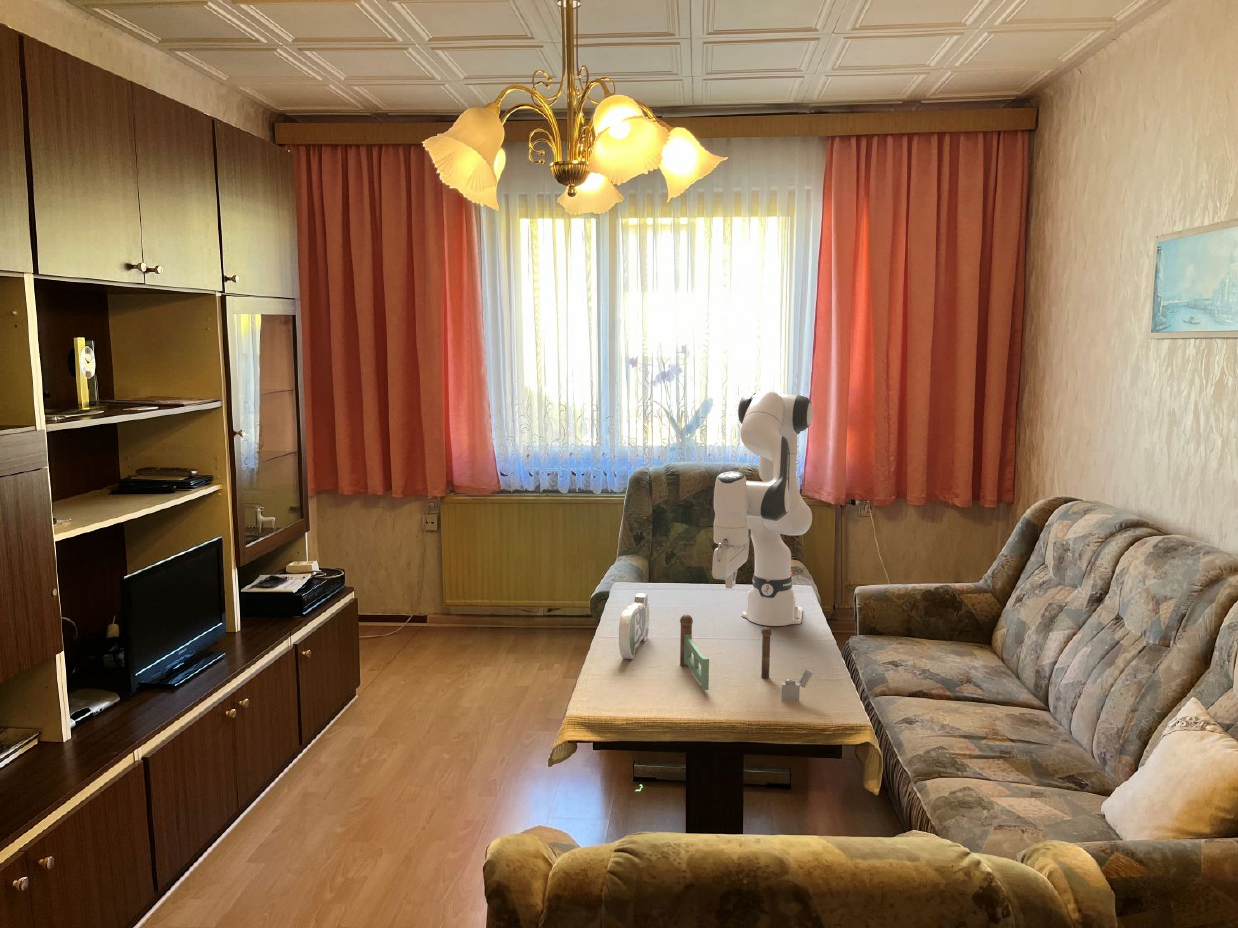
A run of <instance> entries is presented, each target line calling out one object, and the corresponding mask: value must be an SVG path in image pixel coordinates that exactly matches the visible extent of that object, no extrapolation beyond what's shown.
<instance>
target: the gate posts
mask: <svg viewBox="0 0 1238 928" xmlns="http://www.w3.org/2000/svg"><path fill="white" fill-rule="evenodd" d="M693 622H694V621H693V618H692V616H691V615H689V614H683V615H682V616H681V617H680V619H679V623H680V641H679V642H680V645H679V646H680V647H679V648H680V649H679V651H680V652H679V655H680V656H679V665H680V666H681V667H688V665H685V664H684V641H685V634H691V636H692V637H693V635H692V634H693ZM772 633H773V632H772V630H771V628H770V627H767V626H766V627H764V628H762V629H761V636H762V641H761V644H762V645H761V675H760V676H761V678H762V679H770V661H771V659H770V658H771V636H772Z"/></svg>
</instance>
